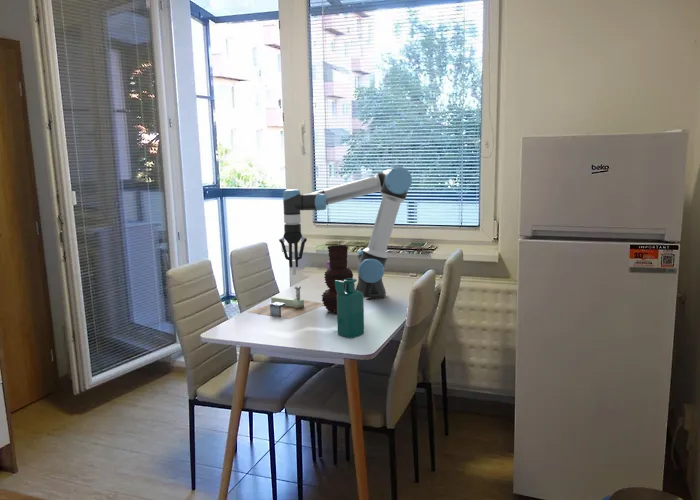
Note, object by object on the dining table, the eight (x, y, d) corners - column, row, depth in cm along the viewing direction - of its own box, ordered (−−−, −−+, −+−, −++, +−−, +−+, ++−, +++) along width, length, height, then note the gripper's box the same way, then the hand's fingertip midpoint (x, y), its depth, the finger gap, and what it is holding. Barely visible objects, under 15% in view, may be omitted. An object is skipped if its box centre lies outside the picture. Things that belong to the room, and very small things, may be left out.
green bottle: (351, 329, 221) (350, 275, 218) (366, 334, 215) (365, 278, 211) (332, 335, 215) (331, 279, 211) (347, 340, 208) (346, 282, 205)
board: (327, 306, 256) (327, 303, 256) (289, 322, 233) (289, 319, 233) (287, 300, 268) (287, 297, 268) (247, 315, 245) (247, 312, 245)
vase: (314, 315, 242) (312, 247, 237) (337, 307, 254) (336, 242, 249) (341, 321, 232) (339, 250, 228) (364, 313, 244) (363, 245, 239)
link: (306, 306, 252) (306, 299, 251) (299, 308, 247) (299, 302, 247) (276, 301, 261) (276, 295, 260) (269, 304, 256) (269, 297, 256)
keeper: (285, 314, 239) (285, 303, 238) (279, 316, 236) (279, 305, 235) (276, 313, 242) (275, 301, 241) (270, 315, 238) (269, 304, 238)
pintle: (302, 299, 251) (302, 286, 250) (298, 300, 248) (298, 287, 248) (297, 298, 252) (297, 285, 251) (293, 299, 250) (293, 287, 249)
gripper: (305, 222, 260) (306, 271, 263) (277, 223, 257) (279, 273, 261) (307, 223, 252) (309, 274, 256) (278, 225, 250) (280, 276, 253)
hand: (293, 274), depth 258 cm, fingers closed
